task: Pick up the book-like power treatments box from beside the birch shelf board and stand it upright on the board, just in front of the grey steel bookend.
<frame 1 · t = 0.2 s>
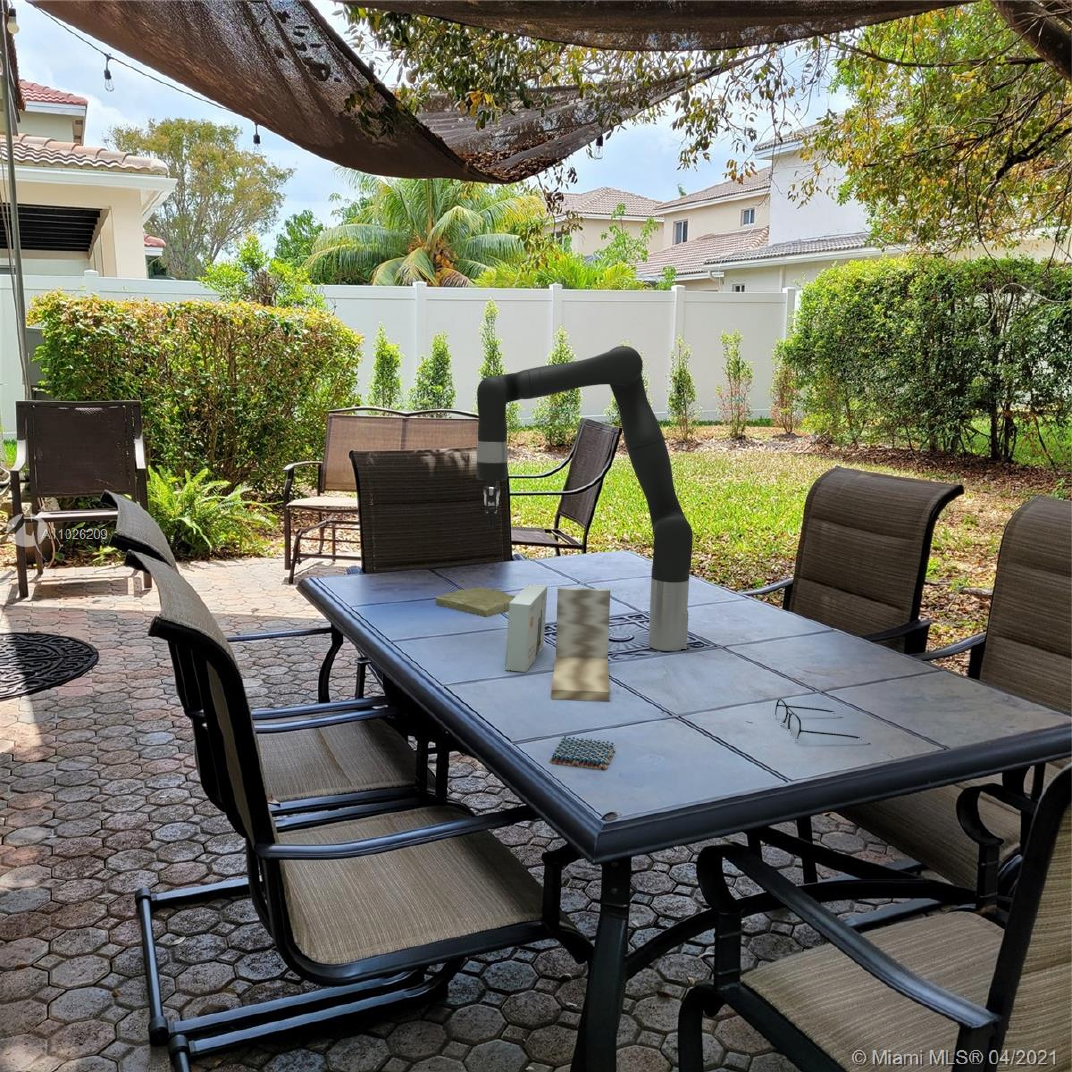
hand: (491, 526, 242), 29 cm above the table, tool pointing down, fingers open, 8 cm apart
skincare box: (526, 659, 233), on the table
glasses: (821, 733, 191), on the table
woven mat: (583, 759, 176), on the table
decorative tile: (482, 607, 283), on the table
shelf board: (580, 680, 217), on the table
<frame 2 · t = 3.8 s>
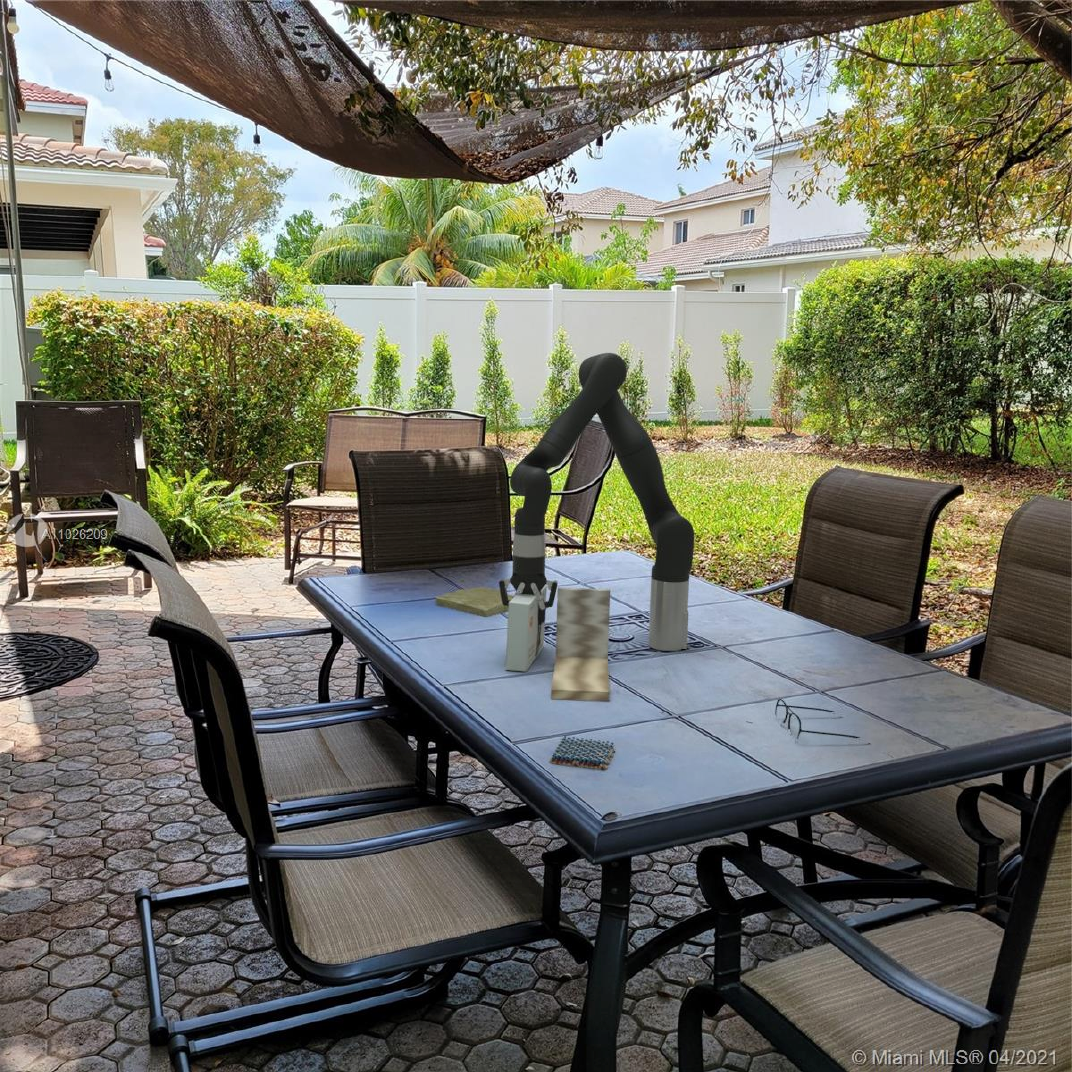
hand: (527, 623, 231), 9 cm above the table, tool pointing down, fingers closed on skincare box, 5 cm apart
skincare box: (526, 659, 233), on the table, touching gripper
everything else where it was.
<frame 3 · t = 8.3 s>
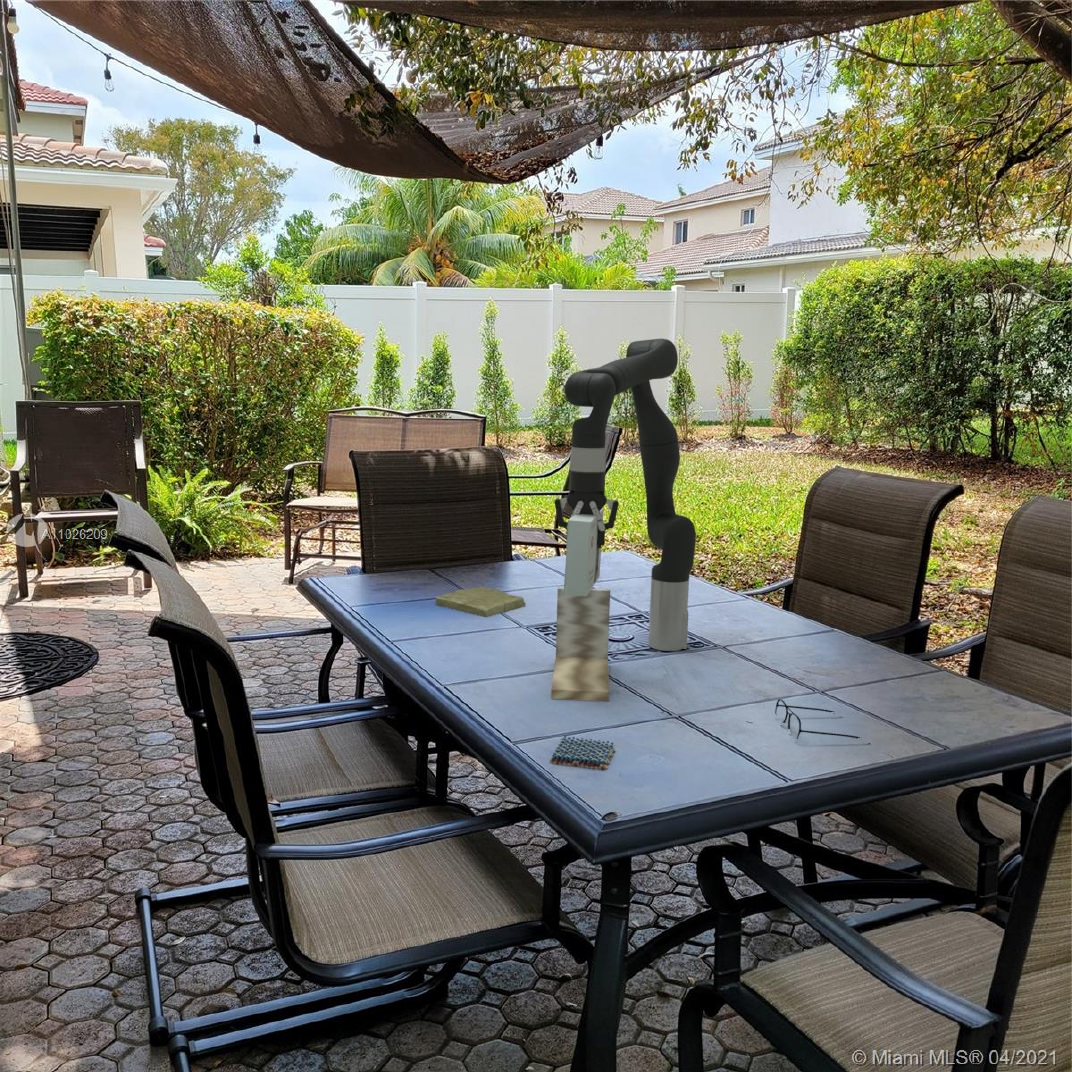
hand: (585, 546, 212), 30 cm above the table, tool pointing down, fingers closed on skincare box, 5 cm apart
skincare box: (583, 586, 213), point 21 cm above the table, touching gripper
everything else where it was.
when the fingers open (12 cm above the table, at t = 12.5 s): skincare box drops 1 cm, resting on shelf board.
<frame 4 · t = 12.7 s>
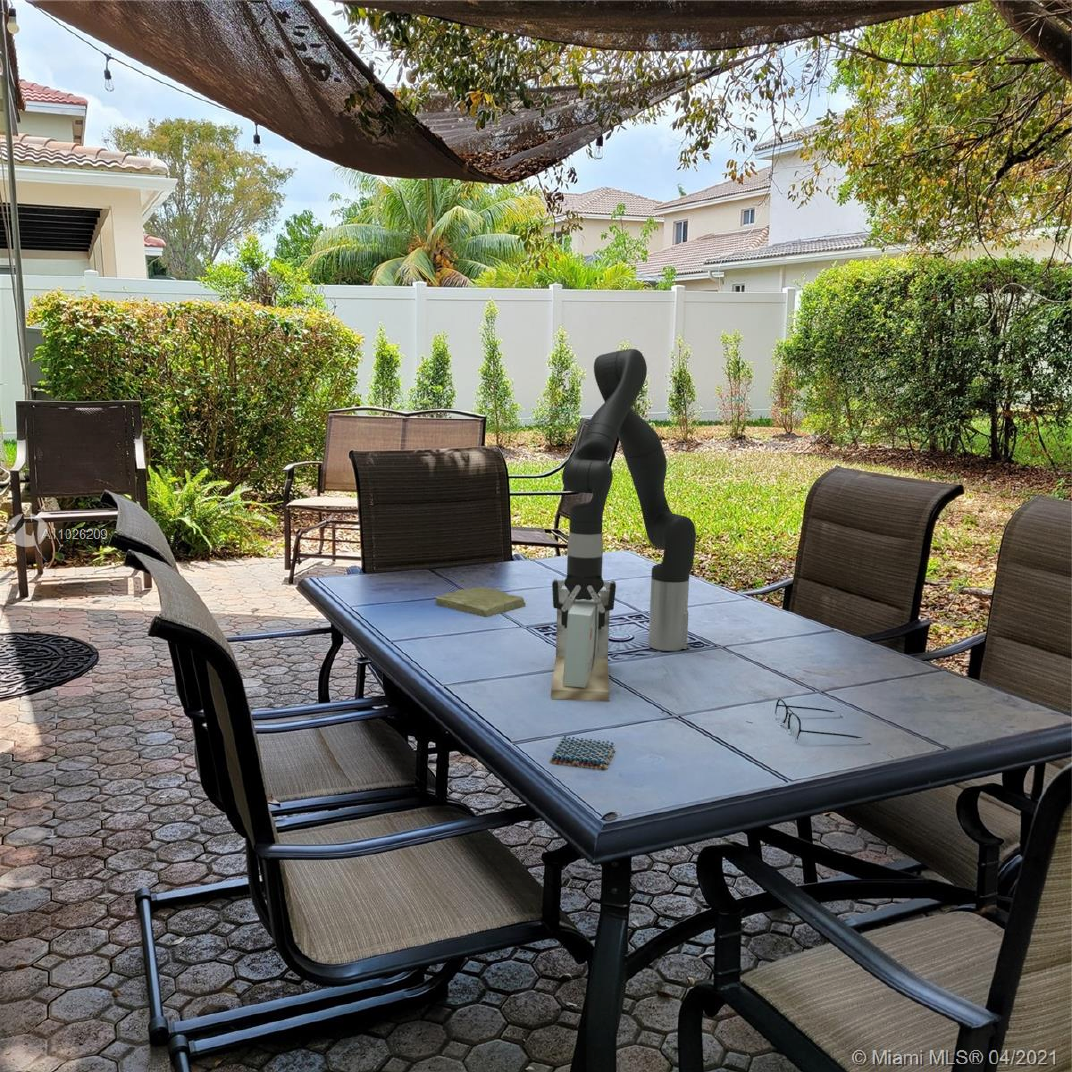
hand: (582, 627, 215), 12 cm above the table, tool pointing down, fingers open, 6 cm apart
skincare box: (581, 673, 216), point 2 cm above the table, touching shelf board
everything else where it was.
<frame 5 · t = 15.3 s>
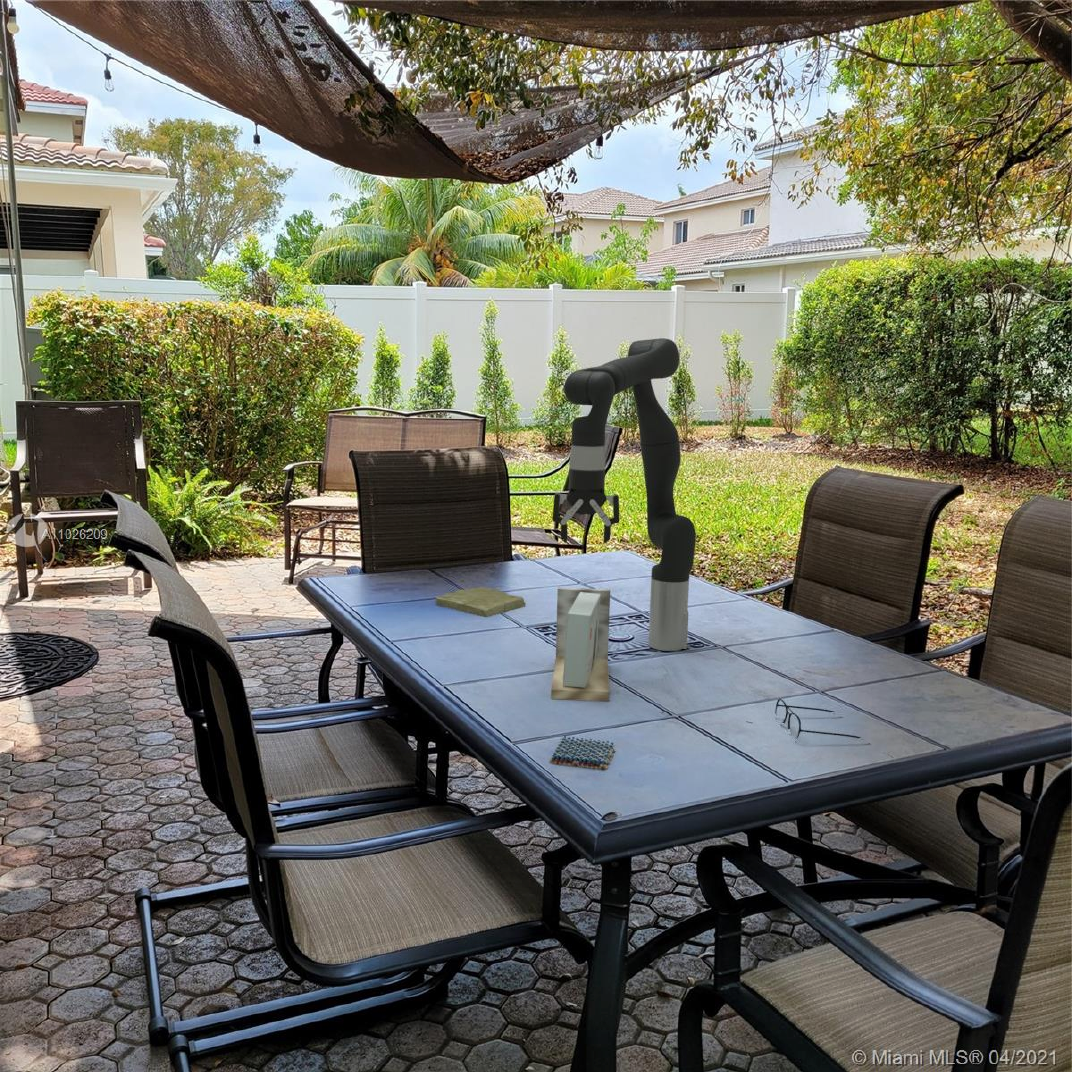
hand: (585, 542, 212), 31 cm above the table, tool pointing down, fingers open, 8 cm apart
nothing on the table moved.
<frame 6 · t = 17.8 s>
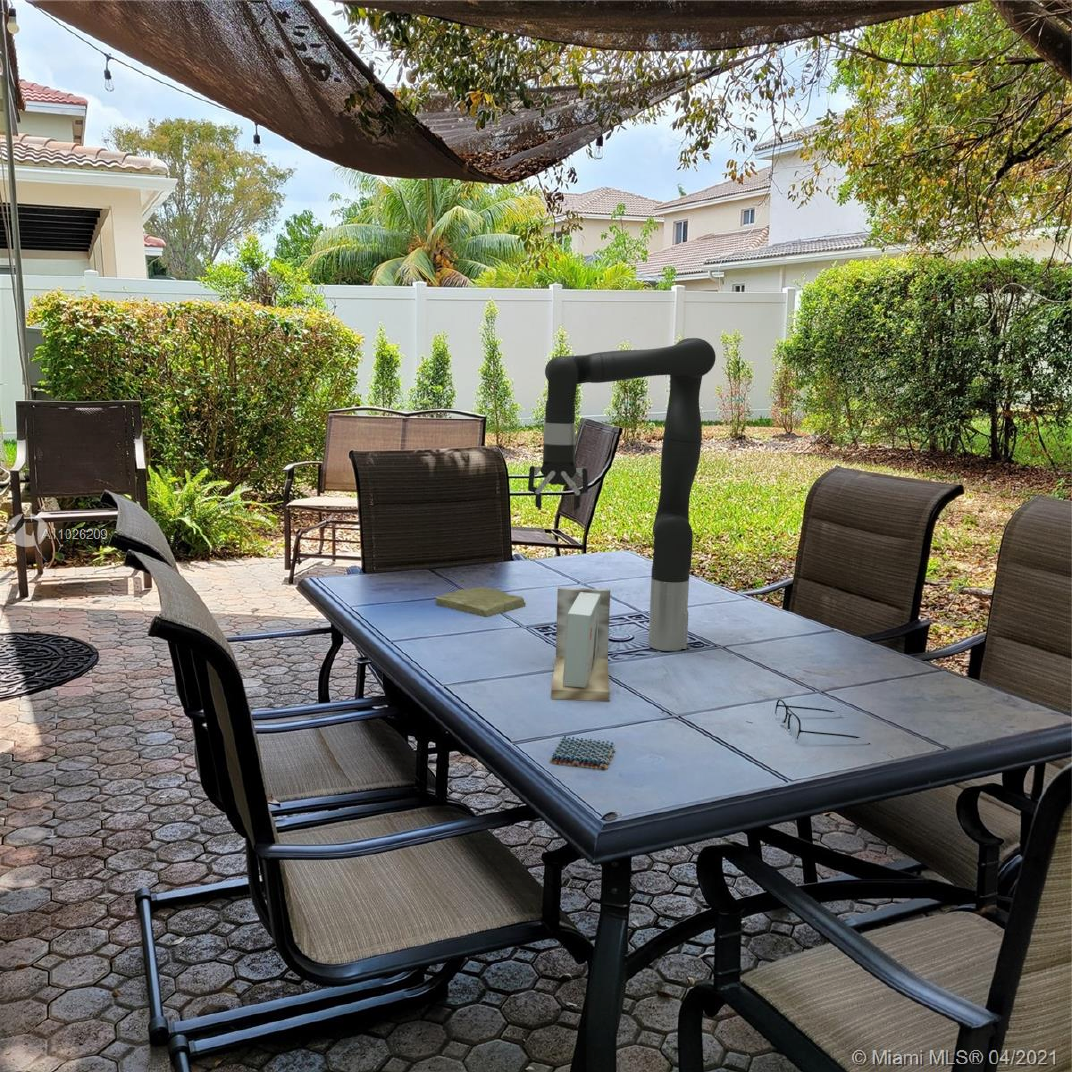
hand: (557, 510, 236), 34 cm above the table, tool pointing down, fingers open, 8 cm apart
nothing on the table moved.
at the end: skincare box inside the target area on the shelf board (0.1 cm from its centre), point 1.8 cm above the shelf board's base; skincare box tilted 0°; the gripper is holding nothing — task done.
